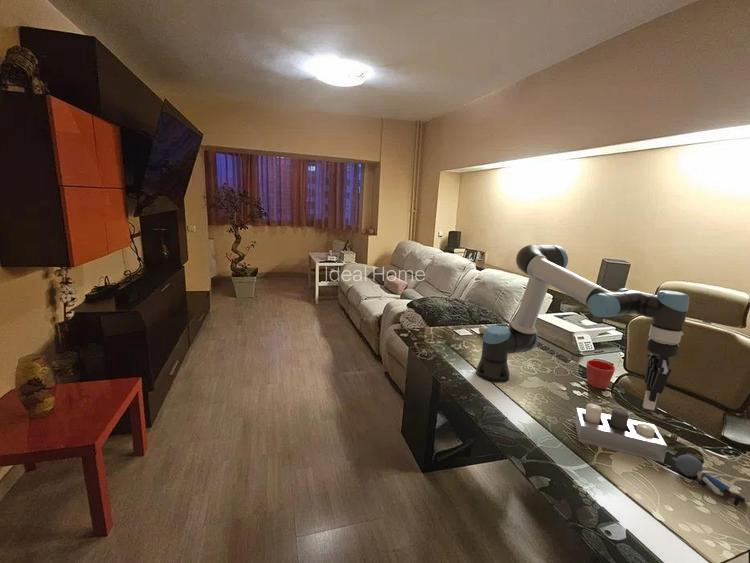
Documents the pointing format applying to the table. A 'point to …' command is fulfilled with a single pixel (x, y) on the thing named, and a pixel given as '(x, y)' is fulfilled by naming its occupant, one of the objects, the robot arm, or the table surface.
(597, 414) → the knob
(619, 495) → the table surface
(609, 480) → the table surface
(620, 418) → the knob mid
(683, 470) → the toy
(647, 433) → the knob
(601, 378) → the flower pot
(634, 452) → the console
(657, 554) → the table surface
